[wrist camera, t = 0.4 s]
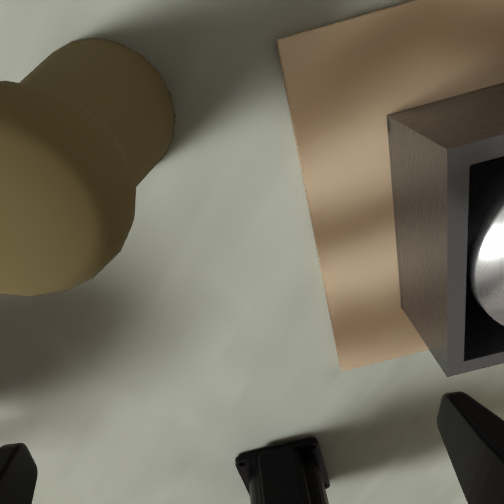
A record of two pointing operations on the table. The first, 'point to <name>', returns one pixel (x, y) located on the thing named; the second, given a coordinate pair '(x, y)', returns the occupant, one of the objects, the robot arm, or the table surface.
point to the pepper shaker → (75, 162)
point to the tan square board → (375, 145)
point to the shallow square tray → (447, 220)
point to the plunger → (489, 262)
